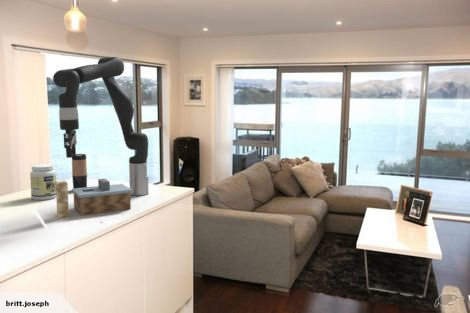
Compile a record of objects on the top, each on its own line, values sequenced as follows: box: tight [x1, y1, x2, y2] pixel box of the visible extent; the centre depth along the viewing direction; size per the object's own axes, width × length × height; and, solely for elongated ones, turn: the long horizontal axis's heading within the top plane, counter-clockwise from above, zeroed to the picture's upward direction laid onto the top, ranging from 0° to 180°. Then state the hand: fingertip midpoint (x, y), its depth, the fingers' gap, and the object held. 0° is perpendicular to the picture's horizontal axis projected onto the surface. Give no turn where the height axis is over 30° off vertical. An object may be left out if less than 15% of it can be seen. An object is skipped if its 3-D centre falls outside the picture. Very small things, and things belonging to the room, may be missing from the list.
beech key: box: [55, 180, 70, 219], centre depth 181 cm, size 4×4×16 cm
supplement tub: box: [29, 163, 57, 201], centre depth 218 cm, size 12×12×17 cm
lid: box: [71, 178, 132, 198], centre depth 194 cm, size 23×15×5 cm, turn 122°
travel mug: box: [71, 153, 88, 189], centre depth 236 cm, size 8×8×20 cm
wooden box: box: [73, 192, 132, 216], centre depth 195 cm, size 22×14×9 cm, turn 122°
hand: (71, 156), depth 182 cm, fingers open, 8 cm apart
